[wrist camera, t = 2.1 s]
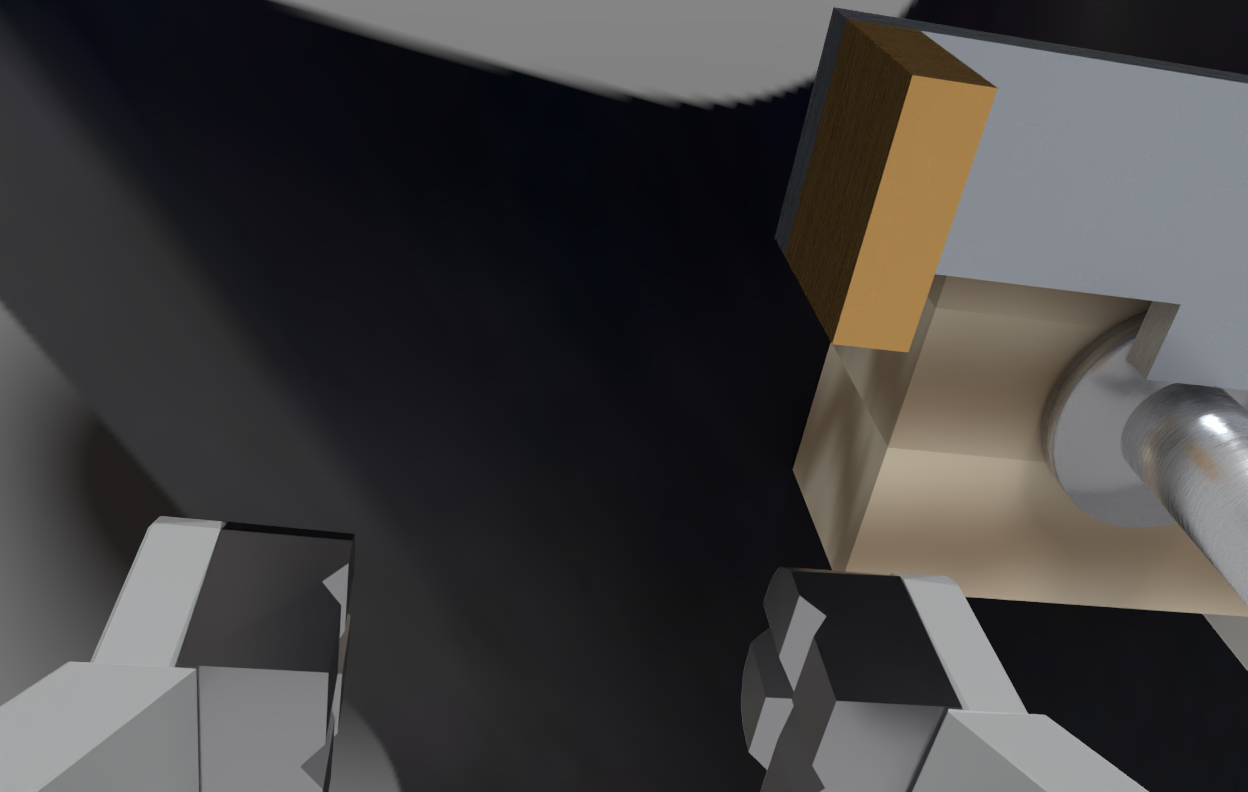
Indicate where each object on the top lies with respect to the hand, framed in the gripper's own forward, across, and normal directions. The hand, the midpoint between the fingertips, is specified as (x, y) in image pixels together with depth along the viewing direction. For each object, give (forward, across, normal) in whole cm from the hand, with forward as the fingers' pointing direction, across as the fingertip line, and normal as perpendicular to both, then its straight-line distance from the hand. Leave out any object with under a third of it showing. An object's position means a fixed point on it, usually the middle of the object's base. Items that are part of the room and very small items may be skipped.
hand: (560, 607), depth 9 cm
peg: (+23, -18, +6) cm, 30 cm away
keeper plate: (+16, -15, +1) cm, 22 cm away
